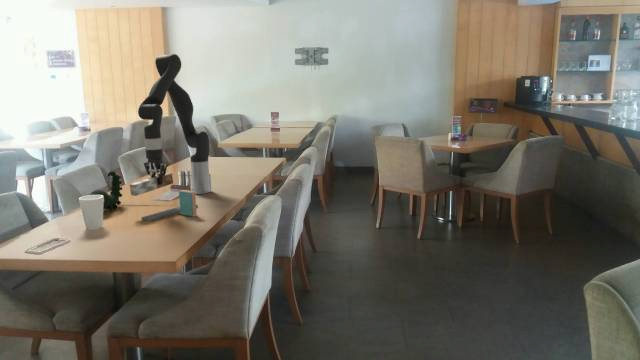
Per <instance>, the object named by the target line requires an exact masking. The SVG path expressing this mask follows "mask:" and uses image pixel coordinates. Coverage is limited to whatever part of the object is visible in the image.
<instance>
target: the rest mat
mask: <svg viewBox="0 0 640 360" xmlns="http://www.w3.org/2000/svg"><path fill="white" fill-rule="evenodd" d="M198 207H199V206H198V204H196V209H197V208H198ZM179 213H180V205H179V206H175V207H172V208H169V209H165V210H163V211H158V212H156V213H155V212H154V213H151V214H149V215H145V216H141V220H143V221H147V222H153V220H154V221H156V219H157V220H160V219H163V218H166V217H170V216H173V215H176V214H179ZM180 214H181V213H180Z"/></svg>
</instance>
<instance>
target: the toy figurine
mask: <svg viewBox="0 0 640 360" xmlns="http://www.w3.org/2000/svg"><path fill="white" fill-rule="evenodd" d="M110 176H111V179H112V180H111V187H110V190H111V191H110V193H108V192H106V191H105V190H102V189H96V190H94V191H92V192H91V193H89V195H103V196H104V203H103V210H108V211H113V209H115V210H117V209H118V207H119V206H120V205H121V204H122V202H121V200H120V199H119V198H122V197H123V193H121V192H120V191H122V190H123V187H122V186H120V185H122V183H123V181H121V180H120V179H121V178H122V176H121V175H119V174H117V173H116V171H113V170H110V171H108V173H107V177H108V178H109V177H110Z"/></svg>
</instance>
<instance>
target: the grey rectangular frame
mask: <svg viewBox="0 0 640 360" xmlns="http://www.w3.org/2000/svg"><path fill="white" fill-rule="evenodd" d="M60 240H65V241H62V242H60V243H58V244H54V245H52V246H50V247H48V248H47V247H46V248H45V249H42V250H39V251H38V250H32V249H33V248H38V247H42V246H44V245H47V244H49V243H52V242H54V241H60ZM70 242H71V238H63V237H62V238H61V237H54V238H51V239H49V240H46V241H44V242H41V243H39V244H36V245H33V246H30V247H28V248H26V249H24V253H28V254H36V255H37V254H38V255H40V254H41V255H42V254H44V253H46V252H49V251H50V250H51V251H52V250H53V249H56V248H59V247H61V246H64V245H65V244H68V243H70Z"/></svg>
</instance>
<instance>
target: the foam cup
mask: <svg viewBox="0 0 640 360" xmlns="http://www.w3.org/2000/svg"><path fill="white" fill-rule="evenodd" d="M78 201H79V202H78V203H79V204H78V205H80V210H81V213H82V217H83V221H84V225H85V228H86V230H90V231H91V230H92V231H93V230H98V229H102V228H103V226H104V225H103V224H104V209H103V203H104V196H103V195H90V194H89V195H88V194H87V195H84V196H83V195H82V196H80V197H79V198H78Z"/></svg>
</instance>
